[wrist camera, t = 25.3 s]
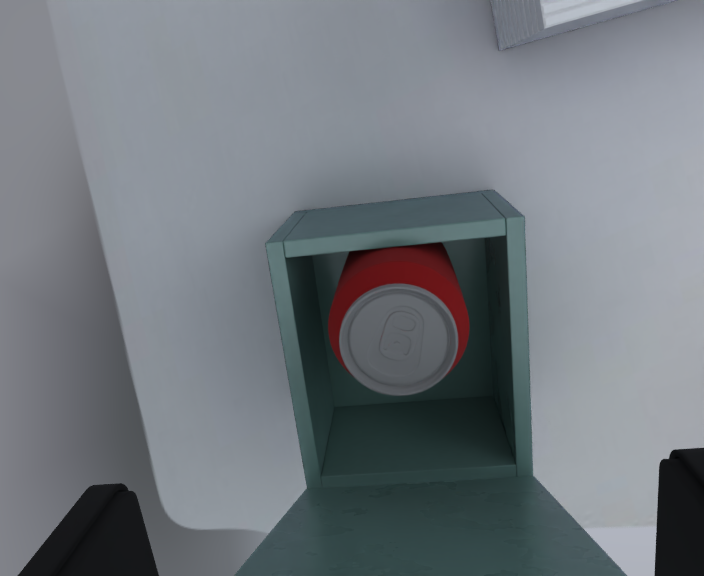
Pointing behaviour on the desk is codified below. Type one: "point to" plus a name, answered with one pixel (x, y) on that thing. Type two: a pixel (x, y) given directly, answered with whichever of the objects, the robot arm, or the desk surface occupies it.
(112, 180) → the desk surface
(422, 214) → the open box
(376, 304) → the beverage can
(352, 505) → the box lid
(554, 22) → the stack of papers
